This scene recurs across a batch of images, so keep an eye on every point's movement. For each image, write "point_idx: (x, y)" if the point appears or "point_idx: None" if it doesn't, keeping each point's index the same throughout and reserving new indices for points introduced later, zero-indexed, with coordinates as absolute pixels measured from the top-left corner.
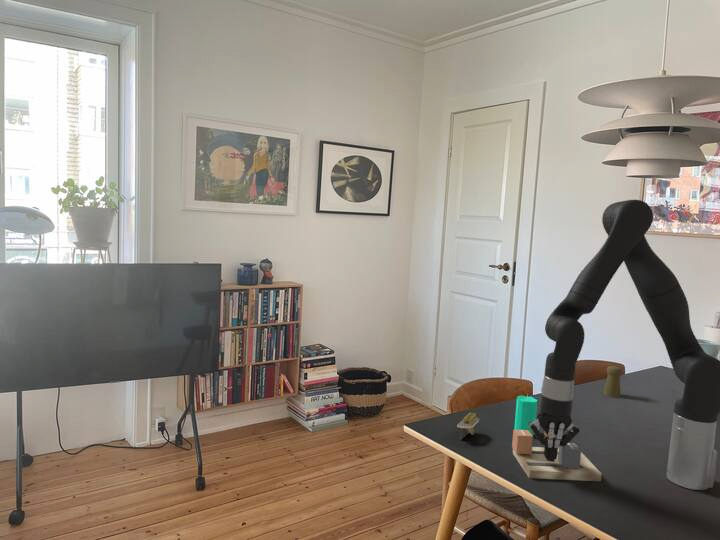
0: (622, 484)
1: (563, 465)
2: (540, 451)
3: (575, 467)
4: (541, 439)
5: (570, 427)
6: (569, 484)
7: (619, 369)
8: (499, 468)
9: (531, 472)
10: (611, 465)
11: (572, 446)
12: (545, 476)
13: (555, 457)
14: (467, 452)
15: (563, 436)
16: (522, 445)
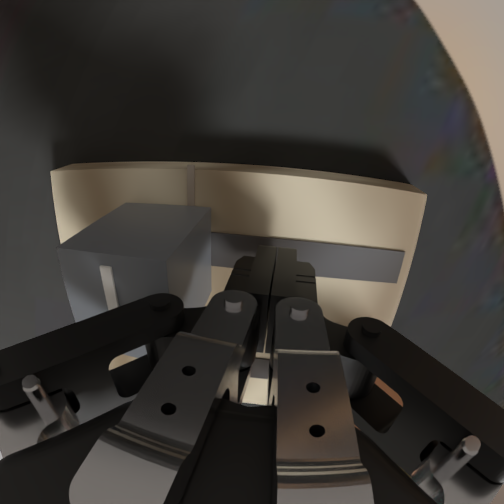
0: (20, 152)
1: (207, 217)
2: (258, 375)
3: (143, 205)
4: (399, 353)
5: (36, 427)
6: (221, 115)
7: None
8: (479, 275)
9: (413, 190)
10: (27, 284)
11: (101, 300)
12: (333, 174)
13: (245, 261)
14: (491, 372)
15: (138, 384)
16: (380, 385)
